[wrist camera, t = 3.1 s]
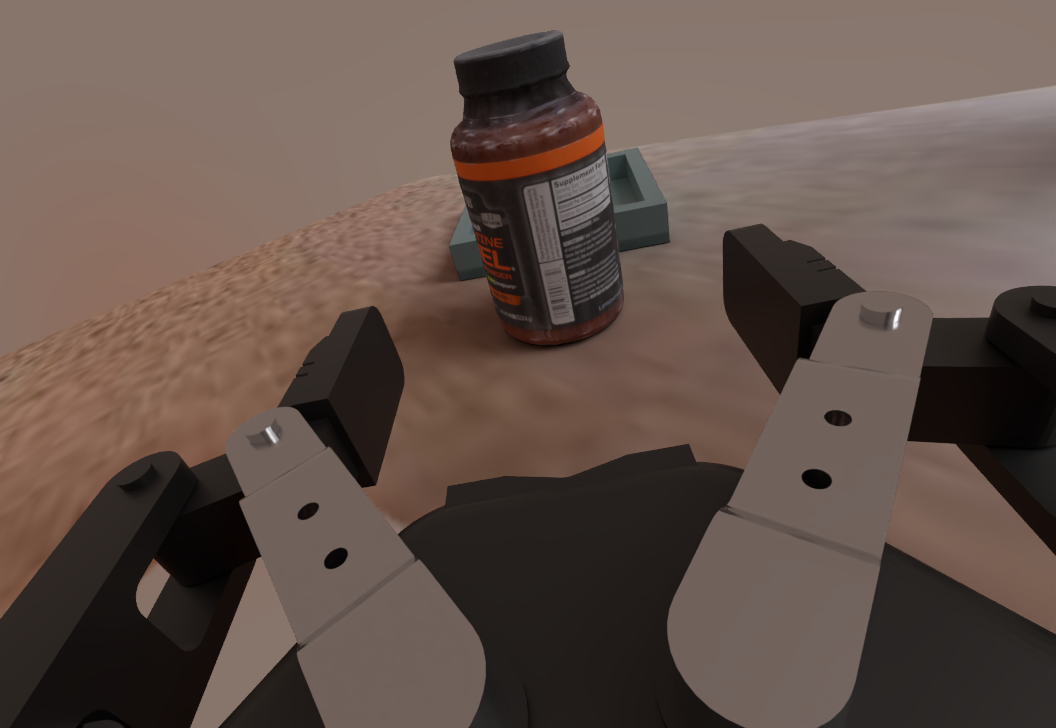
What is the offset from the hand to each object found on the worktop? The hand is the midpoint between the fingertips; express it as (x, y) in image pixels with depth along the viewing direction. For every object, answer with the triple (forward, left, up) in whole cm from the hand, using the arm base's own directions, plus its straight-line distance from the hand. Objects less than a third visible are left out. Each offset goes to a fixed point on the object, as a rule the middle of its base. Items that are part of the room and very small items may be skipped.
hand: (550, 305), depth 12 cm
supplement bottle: (+1, -11, -7) cm, 13 cm away
